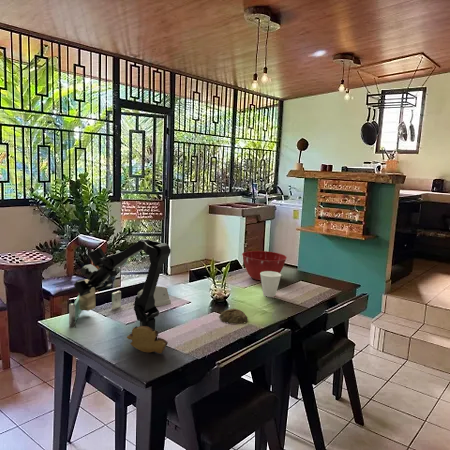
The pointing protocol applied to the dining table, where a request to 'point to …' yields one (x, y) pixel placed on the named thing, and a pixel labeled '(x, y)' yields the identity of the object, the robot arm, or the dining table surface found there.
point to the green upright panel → (77, 308)
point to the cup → (270, 282)
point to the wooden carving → (146, 340)
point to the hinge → (160, 296)
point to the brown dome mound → (233, 316)
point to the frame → (115, 304)
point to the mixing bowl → (262, 262)
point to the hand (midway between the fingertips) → (84, 293)
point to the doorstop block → (87, 300)
